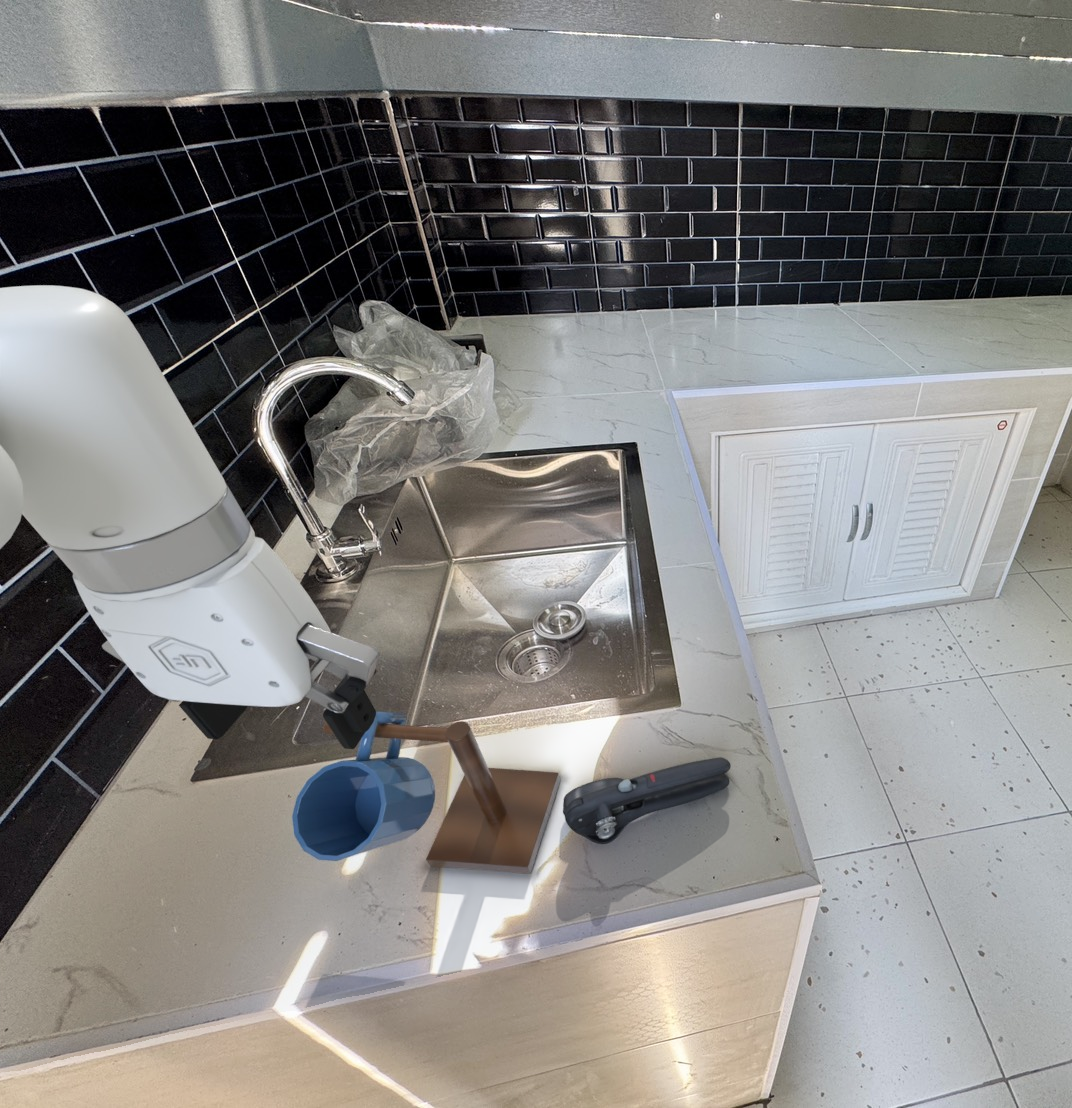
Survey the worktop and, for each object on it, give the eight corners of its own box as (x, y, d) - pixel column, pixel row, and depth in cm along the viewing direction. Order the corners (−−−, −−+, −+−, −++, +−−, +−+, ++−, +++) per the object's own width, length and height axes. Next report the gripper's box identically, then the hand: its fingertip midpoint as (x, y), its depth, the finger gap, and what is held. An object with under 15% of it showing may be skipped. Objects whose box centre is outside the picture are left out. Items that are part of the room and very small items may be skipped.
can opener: (570, 863, 59) (561, 835, 56) (563, 799, 64) (554, 770, 61) (741, 810, 64) (742, 781, 60) (721, 754, 69) (721, 725, 65)
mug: (426, 845, 55) (373, 864, 47) (346, 839, 55) (281, 857, 47) (450, 716, 58) (405, 713, 50) (376, 710, 58) (319, 708, 50)
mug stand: (530, 874, 58) (491, 787, 48) (360, 861, 59) (287, 773, 49) (560, 779, 66) (532, 688, 56) (410, 769, 67) (355, 677, 57)
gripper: (-68, 570, 30) (135, 764, 41) (268, 591, 29) (385, 783, 40) (72, 490, 36) (218, 678, 47) (354, 506, 35) (437, 693, 46)
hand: (295, 727), depth 43 cm, fingers open, 9 cm apart
